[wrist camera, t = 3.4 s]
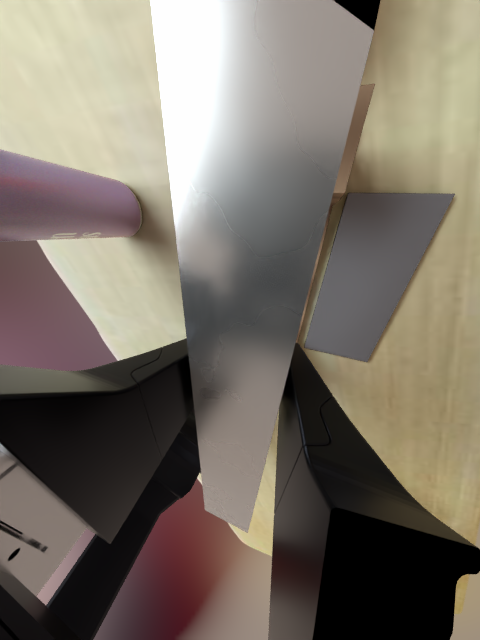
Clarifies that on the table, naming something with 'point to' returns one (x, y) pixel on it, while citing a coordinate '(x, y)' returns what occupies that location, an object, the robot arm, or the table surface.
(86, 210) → the beverage can
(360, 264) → the mat
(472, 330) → the table surface
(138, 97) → the table surface
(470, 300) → the table surface
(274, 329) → the rail
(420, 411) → the table surface
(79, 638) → the robot arm
